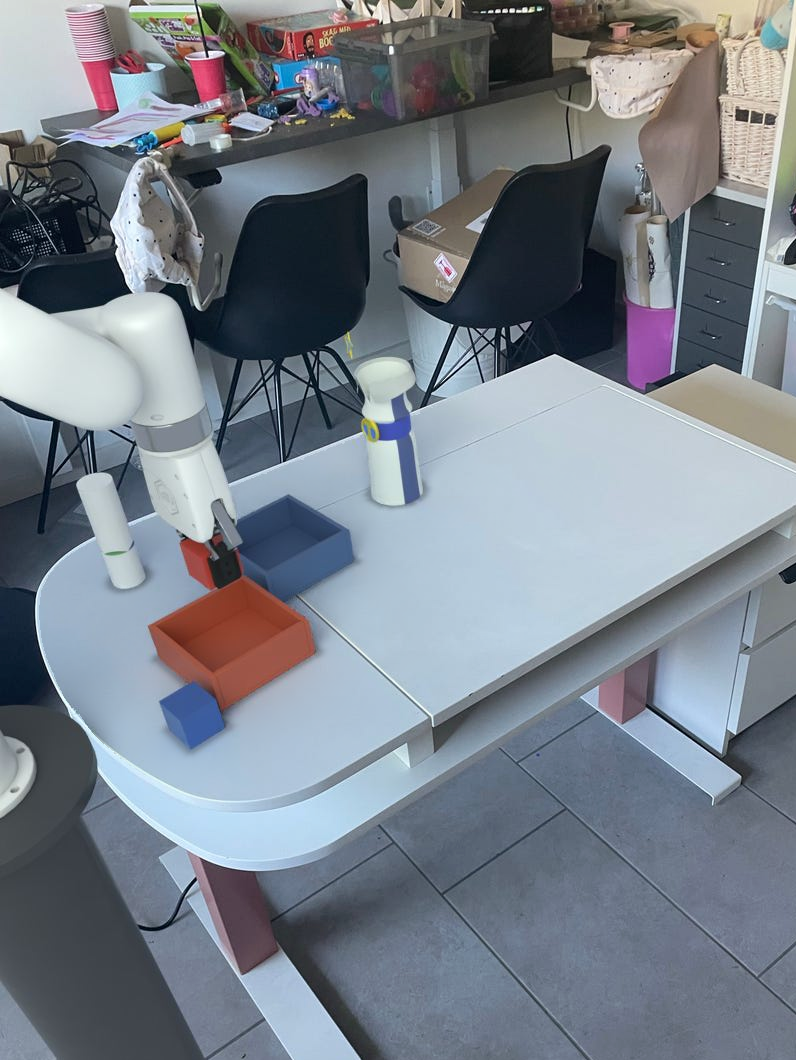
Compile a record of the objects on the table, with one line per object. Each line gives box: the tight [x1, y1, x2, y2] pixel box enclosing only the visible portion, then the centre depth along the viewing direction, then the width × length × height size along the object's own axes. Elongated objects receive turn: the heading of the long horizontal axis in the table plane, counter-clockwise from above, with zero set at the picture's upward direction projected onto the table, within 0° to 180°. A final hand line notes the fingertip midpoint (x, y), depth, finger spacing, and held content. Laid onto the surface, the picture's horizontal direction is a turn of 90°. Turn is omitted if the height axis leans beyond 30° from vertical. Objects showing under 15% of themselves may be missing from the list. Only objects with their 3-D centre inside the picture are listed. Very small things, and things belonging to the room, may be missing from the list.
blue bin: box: [235, 493, 355, 603], centre depth 125 cm, size 13×13×5 cm
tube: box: [75, 472, 147, 590], centre depth 120 cm, size 4×4×15 cm
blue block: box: [158, 681, 226, 750], centre depth 102 cm, size 4×4×4 cm
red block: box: [178, 534, 244, 592], centre depth 103 cm, size 4×4×4 cm
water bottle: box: [344, 331, 424, 507], centre depth 130 cm, size 8×9×25 cm
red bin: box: [147, 575, 317, 712], centre depth 111 cm, size 13×13×5 cm
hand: (215, 571), depth 104 cm, fingers closed on red block, 4 cm apart
